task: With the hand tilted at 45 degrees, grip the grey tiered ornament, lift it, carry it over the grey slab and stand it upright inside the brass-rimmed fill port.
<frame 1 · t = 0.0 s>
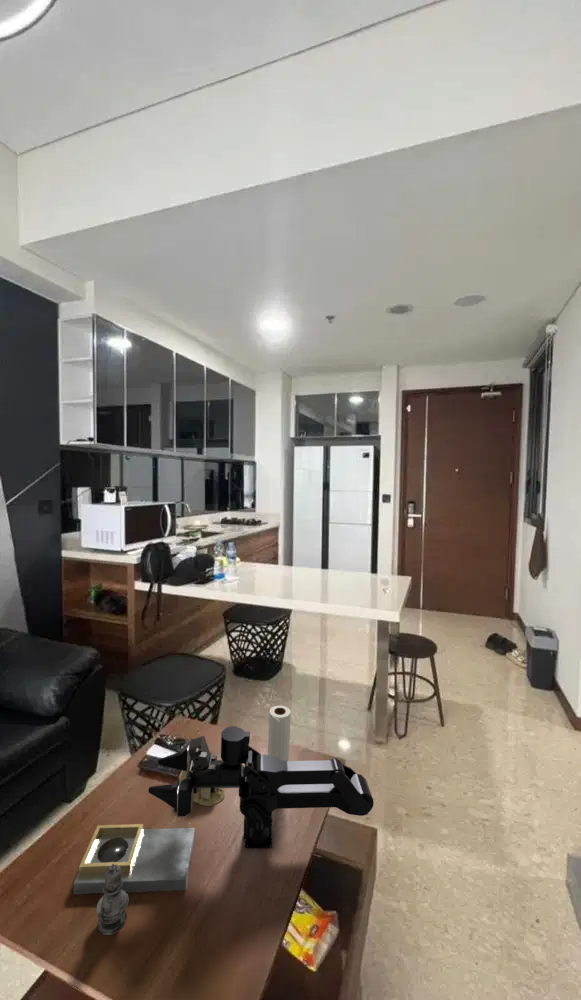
hand: (153, 775, 101), 17 cm above the table, tool horizontal, fingers open, 9 cm apart
ceramic model: (201, 791, 119), on the table
grey tiered ornament: (112, 921, 85), on the table
grey slab: (138, 863, 97), on the table
paper towel roll: (276, 783, 123), on the table
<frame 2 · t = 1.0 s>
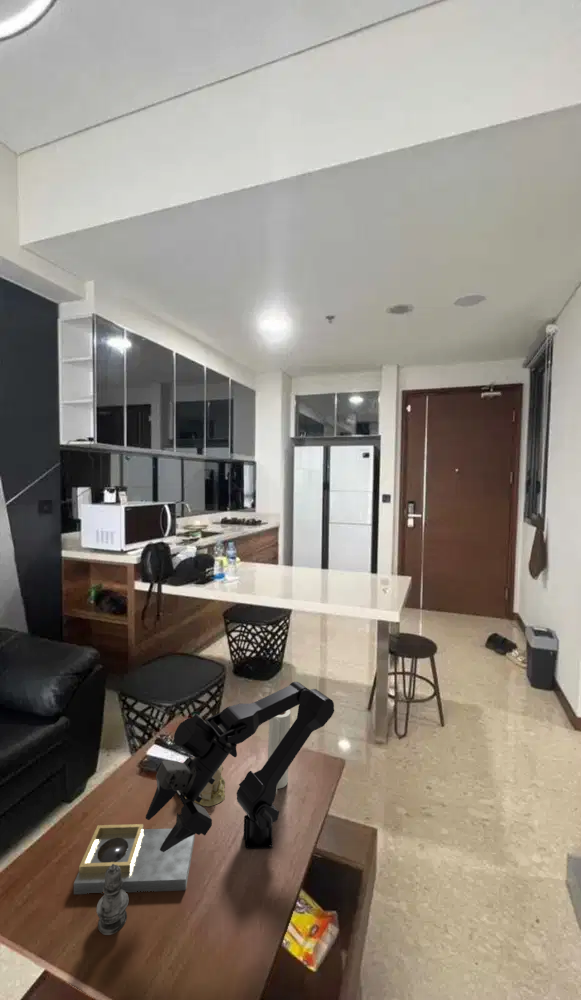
hand: (153, 834, 88), 14 cm above the table, tool tilted 45°, fingers open, 9 cm apart
nothing on the table moved.
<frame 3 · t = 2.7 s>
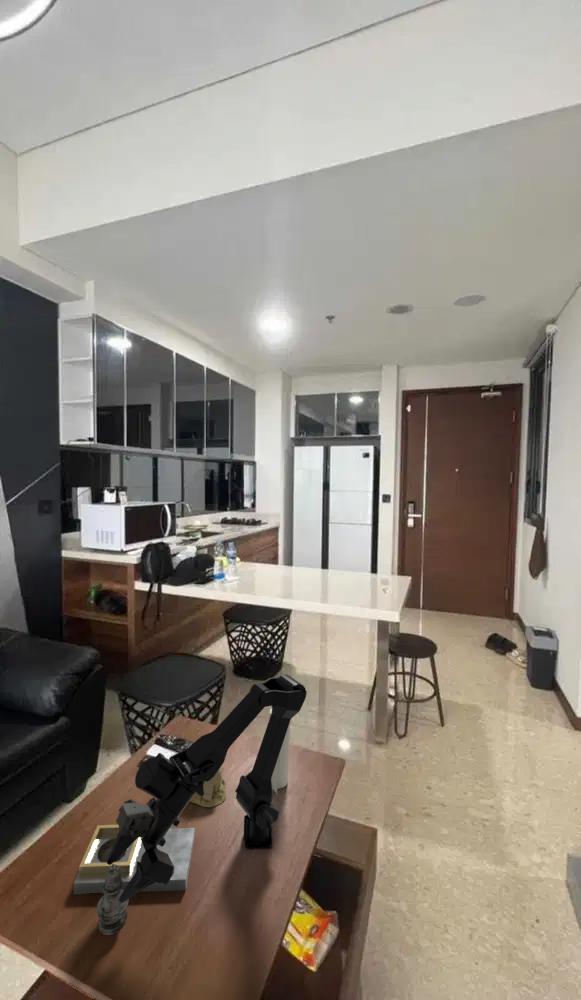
hand: (114, 881, 84), 8 cm above the table, tool tilted 45°, fingers open, 9 cm apart
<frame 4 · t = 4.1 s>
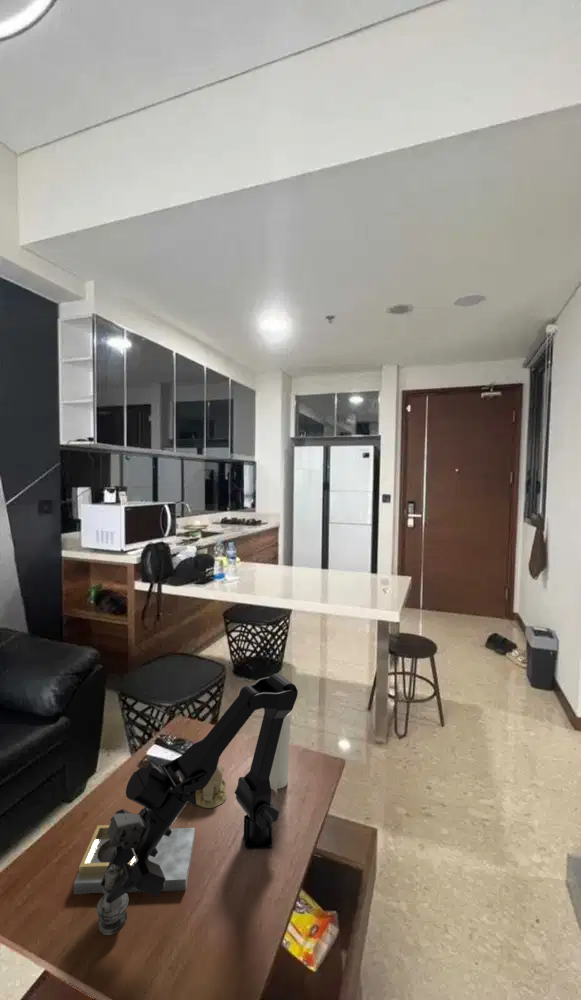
hand: (105, 893, 83), 7 cm above the table, tool tilted 45°, fingers closed on grey tiered ornament, 4 cm apart
grey tiered ornament: (112, 921, 85), on the table, touching gripper
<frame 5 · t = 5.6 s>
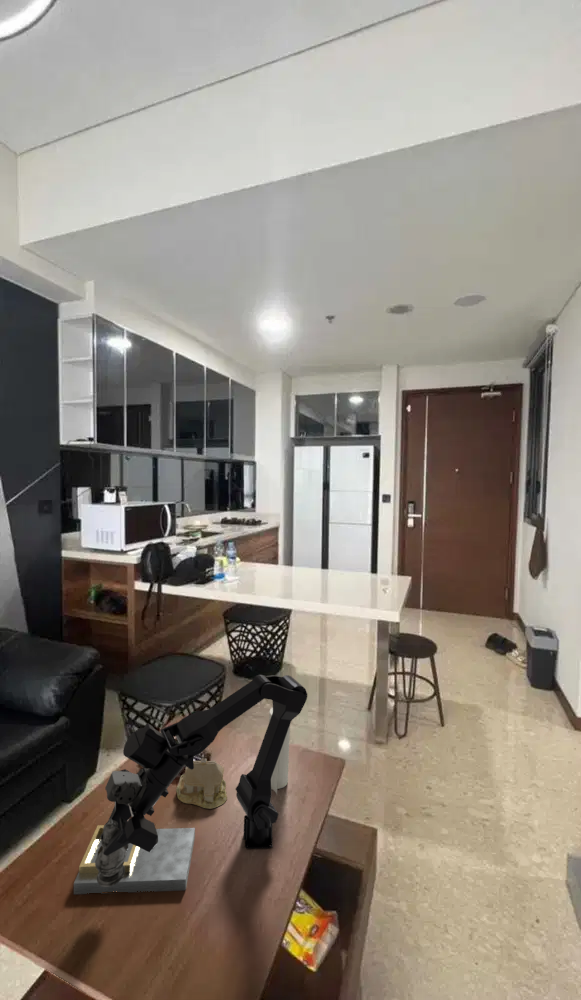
hand: (103, 846, 86), 13 cm above the table, tool tilted 45°, fingers closed on grey tiered ornament, 4 cm apart
grey tiered ornament: (111, 875, 87), point 6 cm above the table, touching gripper
when the fingers open (10 cm above the table, at t = 7.4 s): grey tiered ornament stays where it is, resting on grey slab.
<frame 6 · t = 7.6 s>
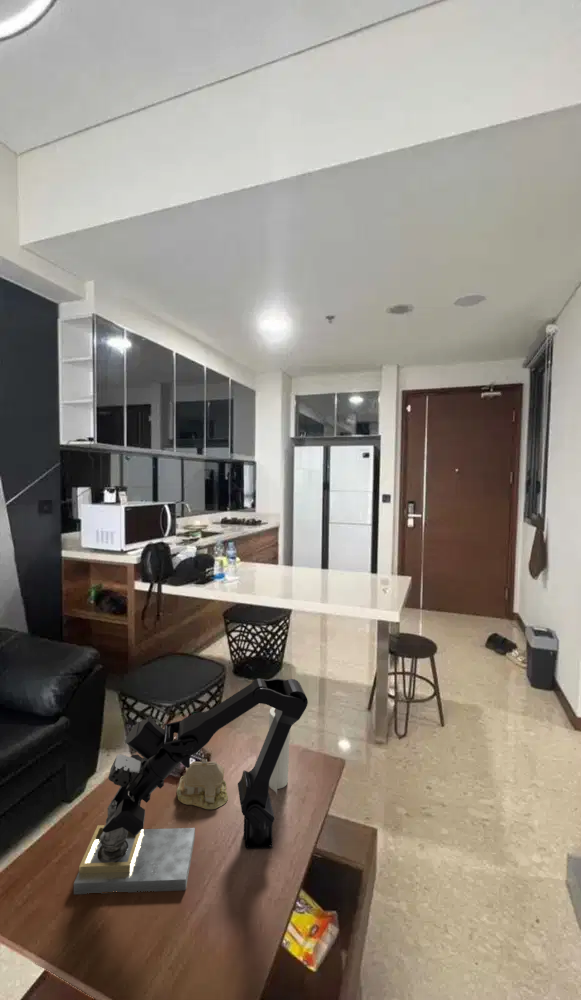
hand: (106, 820, 96), 10 cm above the table, tool tilted 45°, fingers open, 6 cm apart
grey tiered ornament: (113, 850, 97), point 2 cm above the table, touching grey slab
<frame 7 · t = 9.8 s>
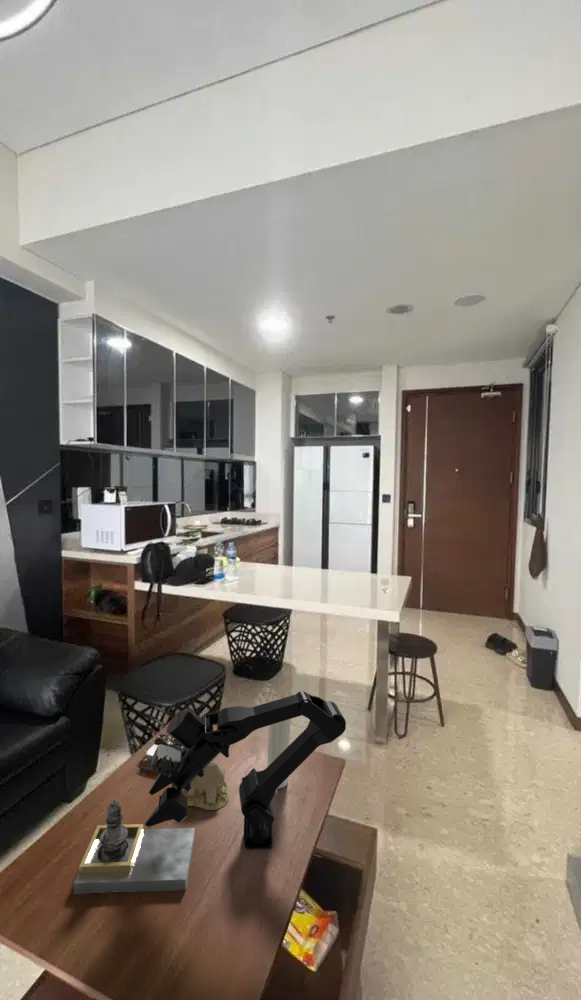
hand: (148, 808, 98), 11 cm above the table, tool tilted 45°, fingers open, 9 cm apart
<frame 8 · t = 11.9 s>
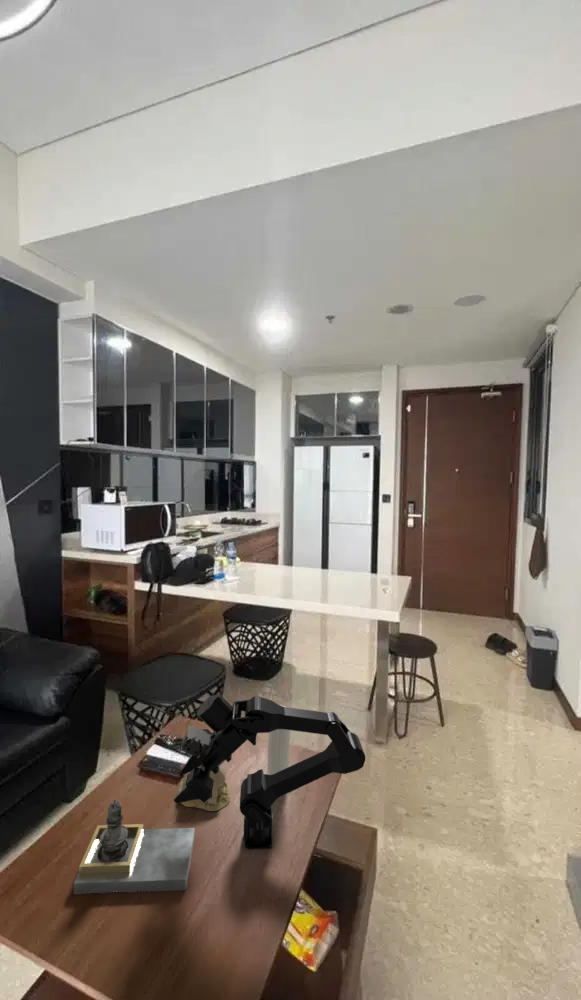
hand: (178, 786, 102), 14 cm above the table, tool tilted 45°, fingers open, 9 cm apart
at the end: grey tiered ornament 0.2 cm from the target spot, point 2.4 cm above the table; grey tiered ornament tilted 1°; the gripper is holding nothing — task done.
